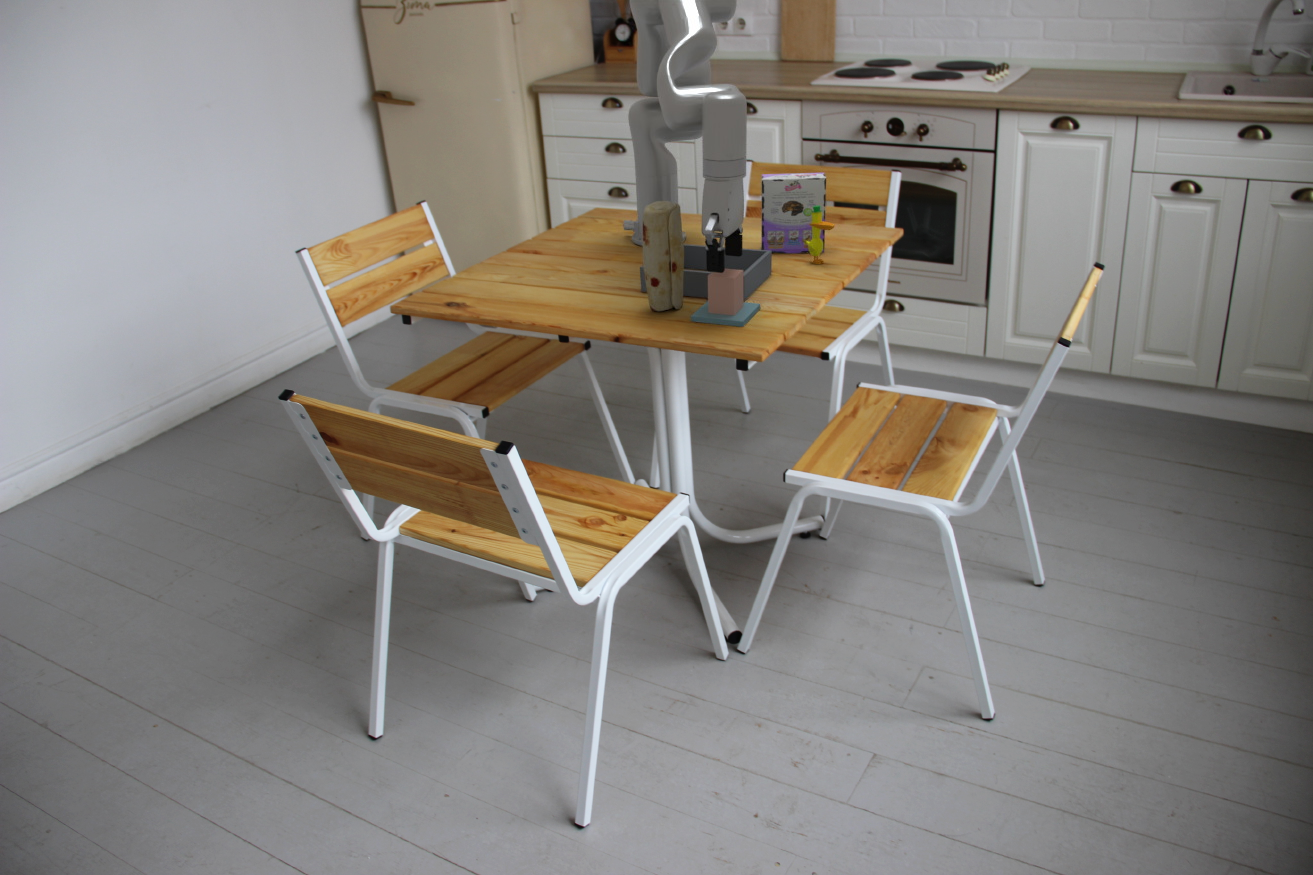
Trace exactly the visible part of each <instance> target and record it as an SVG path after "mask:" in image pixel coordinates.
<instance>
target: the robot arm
mask: <svg viewBox="0 0 1313 875" xmlns="http://www.w3.org/2000/svg"><path fill="white" fill-rule="evenodd" d="M737 2H738V1H737V0H629V6H630V11H631V14H632V18H633V20H634V22H635V25H636V26H635V27H636V29H637V30H636V32H637V50H636V54H637V55H636V84H637V88H638V90H639V92H640V93H641V94H642V95H644V96H646V97H647V98H643V99H642V98H641V99H639V100H637V101H635V102H633V103H632V105H630V108H629V110H628V114H627V115H628V116H627V117H628V118H627V119H628V120H627V121H628V124H629V125H628V126H629V130H630V131H629V132H630V137H631V142H632V147H633V155H634V170H635V171H634V172H635V173H634V174H635V189H636V190H635V191H636V192H635V193H636V212H637V215H636V216H637V219H636V220H632V219H631V220H630V219H624V220H623V223H622V226H623V230H624V231H632V232H634V233H633V234H632V236H631V242H632V243H634V244H635V245H638V246H642V247H643V213H644V210H645V208H646V206H648V205H649V204H651V203H653V202H657V201H669V202H671V203H676V204H679V184H678V182H679V181H678V178H679V177H678V163H677V159H676V158H675V155H674V154H673V153H672V152H671V151H670V150H669V149H668V148H667V147H666V144H667V143H671V142H682V141H692V140H693V141H694V140H698V139H701V138H702V139H701V140H702V143H701V144H702V145H701V146H702V178H703V179H704V184H703V191H702V202H701V205H702V206H701V235H703V237H705V240H704V243H705V246H706V264H707V270H706V271H707V272H717V273H723V272H724V271H725V255H727V256H738V257H740V256H742V248H743V233H744V228H743V225H742V224H743V223H744V218H745V217H744V216H745V214H744V213H745V193H744V192H745V191H744V178H746V176H747V131H748V130H747V122H748V121H747V120H748V119H747V118H748V117H747V116H748V115H747V113H748V112H747V110H748V106H747V104H748V103H747V97H746V96H745V94H743V93H742V92H741V90H740V89H739V88H738V87H737V86H736V85H734V84H730V83H715V84H712V67H711V61H710V58H711V57H712V56H713V55H714V53H715V52H716V49H717V45H718V38H717V34H716V31H715V27H714V25H713V23H714V24H715V23H717V24H718V23H728V22H729V21H731V20H732V19H733V17H734V16H735V13H736V10H737ZM682 235H683V242H685V241H686V239H687V235H686V232H684V231H683V230H682ZM718 239H719V240H718ZM723 247H725V250H722V249H723Z"/></svg>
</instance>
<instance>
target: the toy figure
mask: <svg viewBox="0 0 1313 875" xmlns="http://www.w3.org/2000/svg"><path fill="white" fill-rule="evenodd" d="M813 210H814V211H812V212H813V213H812V223H810V224H809V225H810V226H812V235H813V238H812V240H811V241H810V242H809V241H806V242H807V245H808V247H809V252H810V253H809V254H810V255H811V256H812V257H813V260H812V261H811V264H815V265H822V264H824V262H825V261H824V260H823V259H822V258H819V257H820V255H821V254H822V253H823V252H822V251H823V241H822V240H821V239H820V233H821V229H823V230H825V231H832V230H833V229H834V228H835V226H836V225H835V224H834V223H833V222H828V221H825V222H824V221H822V212H821V211H822V210H820V206H813Z"/></svg>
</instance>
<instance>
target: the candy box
mask: <svg viewBox="0 0 1313 875" xmlns="http://www.w3.org/2000/svg"><path fill="white" fill-rule="evenodd" d="M760 183H761V184H760V186H761V188H760V189H761V190H760V191H761V197H760V198H761V223H760V224H761V225H760V226H761V230H760V231H761V237H760V238H761V240H760V242H761V243H760V250H770V251H772V253H783V254H810V252H809V247H808V245H807V242H806V241H809V242H810V241H811V240H812V238H813V235H812V226H810V225H809V224H810V223H812V213H813V212H812V211H814V210H813V206H820V210H822V211H821V212H822V221H824V222H826V202H827V201H826V197H827V195H826V194H827V176H826V174H825V172H805V173H804V172H803V173H802V172H801V173H794V172H793V173H768V174H766V173H765V174H763V173H762V174H761V182H760ZM825 232H826V230H823V229H821V233H820V239H821V240H822V241H823V251H822V252H821V253H825V243H826V242H825V239H826V238H825V236H826V233H825ZM807 252H808V253H807Z"/></svg>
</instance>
